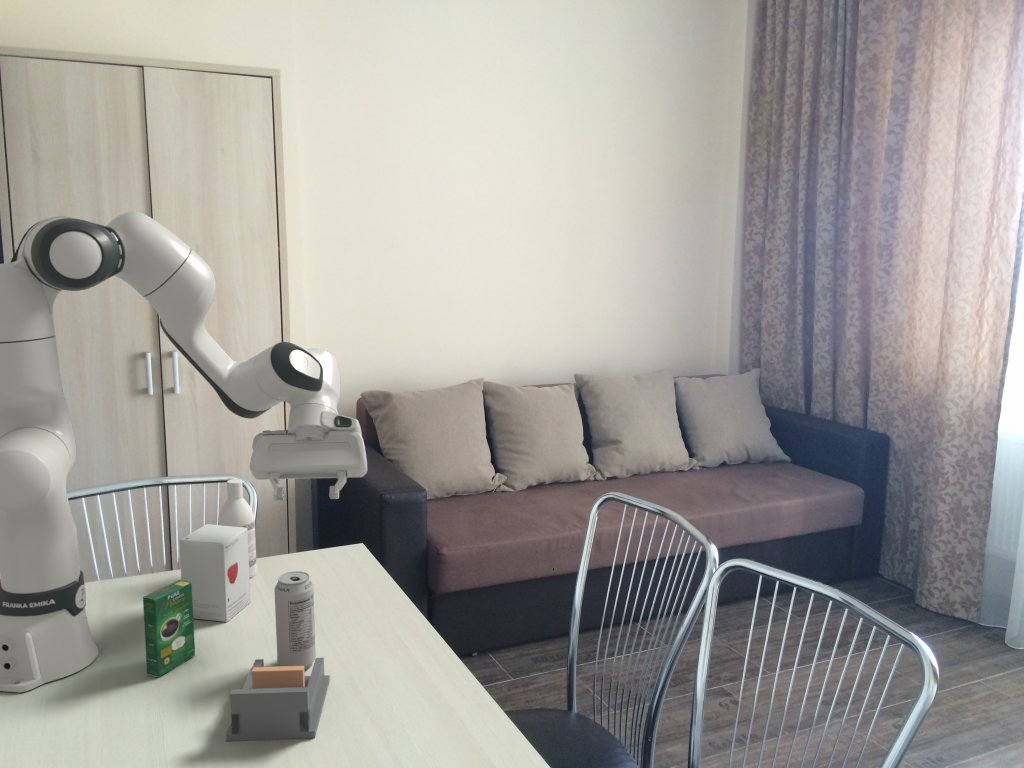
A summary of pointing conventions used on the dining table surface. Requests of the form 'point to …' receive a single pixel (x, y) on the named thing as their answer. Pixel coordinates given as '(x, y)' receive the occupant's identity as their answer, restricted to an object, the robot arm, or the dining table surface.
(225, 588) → the supplement box
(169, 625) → the coffee box
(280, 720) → the pusher lane
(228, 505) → the bath foam
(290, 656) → the energy drink can
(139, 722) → the dining table surface
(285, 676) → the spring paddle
